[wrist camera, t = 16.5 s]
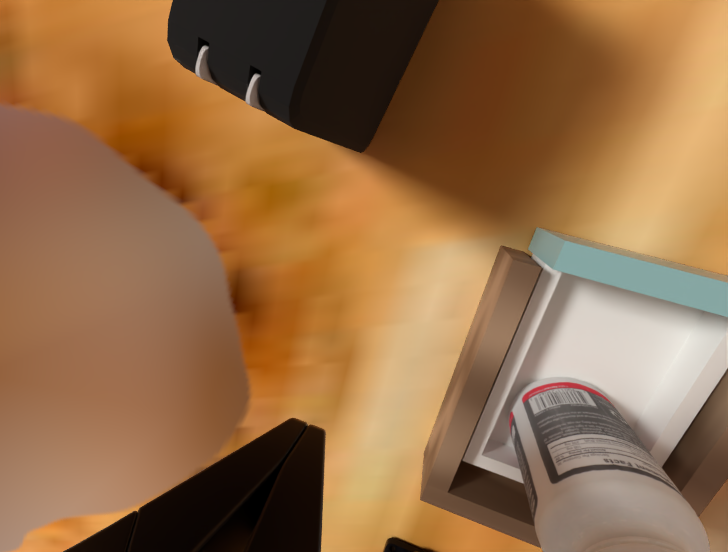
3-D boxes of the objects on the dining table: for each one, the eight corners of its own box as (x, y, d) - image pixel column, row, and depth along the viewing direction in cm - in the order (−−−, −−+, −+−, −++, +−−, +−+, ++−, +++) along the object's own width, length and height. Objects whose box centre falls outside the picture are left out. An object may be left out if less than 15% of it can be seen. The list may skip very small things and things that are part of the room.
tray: (610, 485, 20) (653, 564, 16) (456, 429, 21) (458, 488, 17) (738, 278, 16) (841, 312, 12) (536, 227, 17) (565, 240, 13)
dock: (611, 522, 21) (643, 588, 17) (424, 452, 22) (420, 499, 19) (748, 312, 16) (828, 345, 13) (500, 245, 18) (513, 259, 15)
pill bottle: (583, 471, 19) (708, 736, 10) (490, 433, 20) (528, 647, 11) (635, 397, 17) (843, 633, 8) (531, 357, 18) (618, 535, 9)
